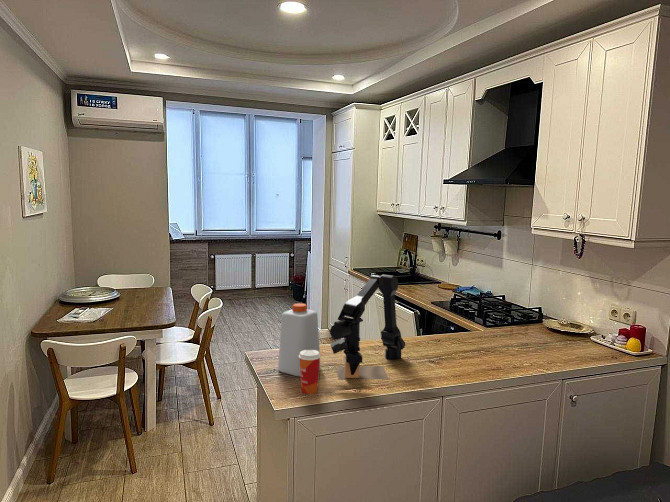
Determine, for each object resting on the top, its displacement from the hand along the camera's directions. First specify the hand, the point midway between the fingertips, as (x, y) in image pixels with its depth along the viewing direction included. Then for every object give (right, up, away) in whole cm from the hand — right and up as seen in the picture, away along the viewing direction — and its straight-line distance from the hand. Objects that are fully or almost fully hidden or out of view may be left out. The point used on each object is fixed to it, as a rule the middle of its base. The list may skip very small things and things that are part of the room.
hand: (351, 371), depth 186 cm
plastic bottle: (-22, -2, +10) cm, 24 cm away
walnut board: (+4, -3, +5) cm, 7 cm away
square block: (0, -1, 0) cm, 1 cm away
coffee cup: (-16, -4, -12) cm, 20 cm away
